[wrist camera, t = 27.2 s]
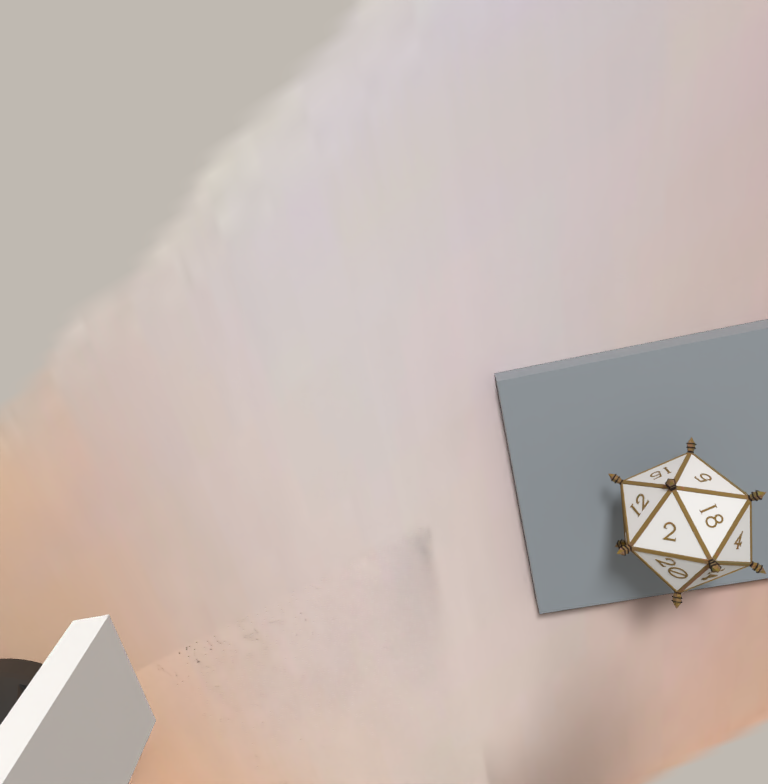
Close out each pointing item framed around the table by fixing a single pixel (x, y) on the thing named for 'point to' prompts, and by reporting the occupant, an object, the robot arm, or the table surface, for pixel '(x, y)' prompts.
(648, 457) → the board
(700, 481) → the game die
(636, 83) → the table surface
